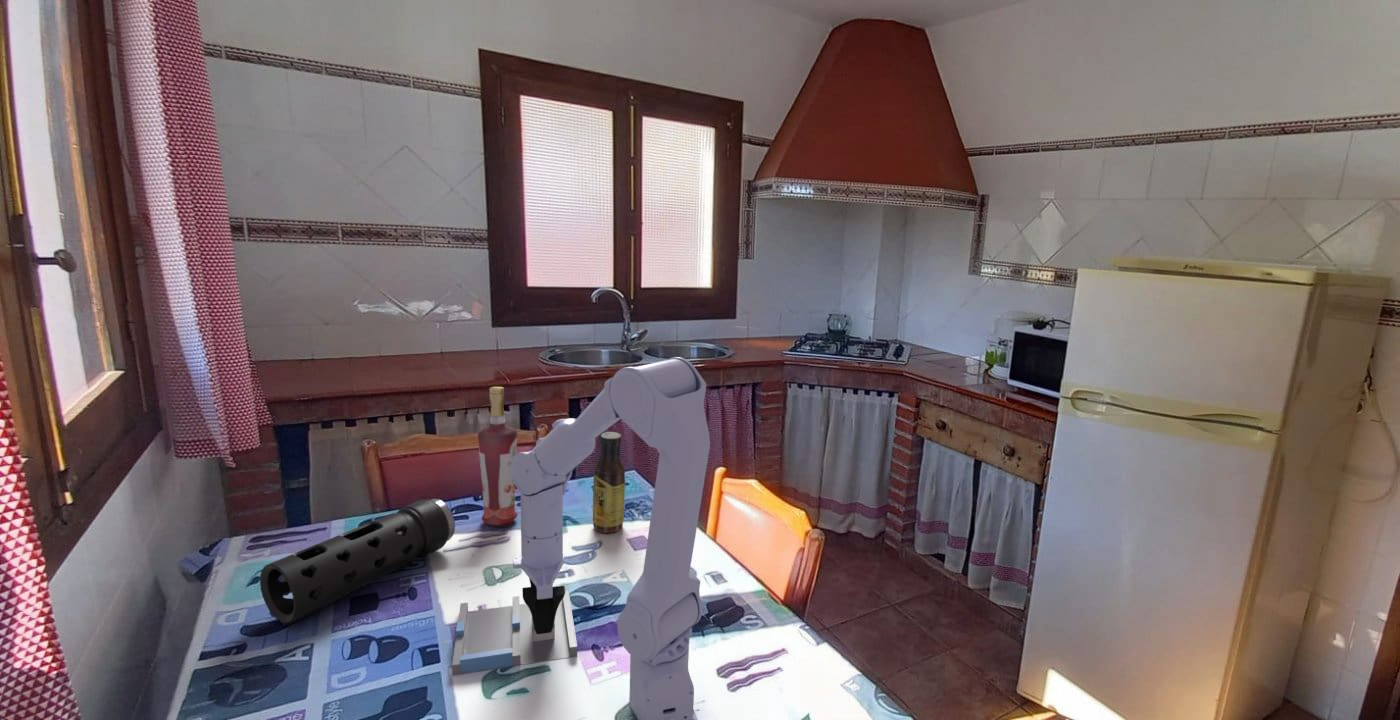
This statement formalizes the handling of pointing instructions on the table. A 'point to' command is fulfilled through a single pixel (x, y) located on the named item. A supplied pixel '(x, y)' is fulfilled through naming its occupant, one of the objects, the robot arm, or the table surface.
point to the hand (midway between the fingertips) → (542, 615)
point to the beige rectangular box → (543, 636)
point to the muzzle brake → (354, 559)
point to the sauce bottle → (609, 486)
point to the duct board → (509, 638)
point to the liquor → (497, 464)
